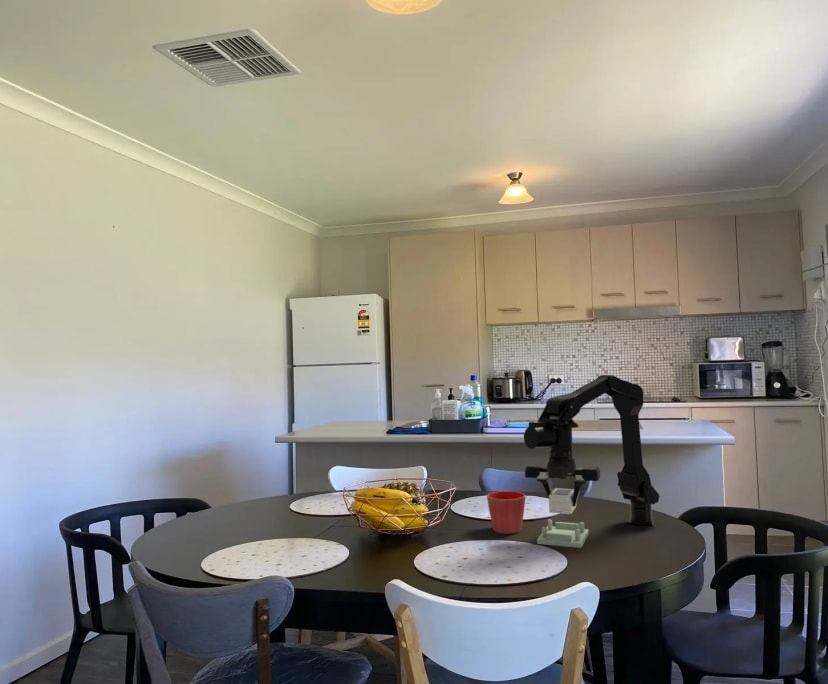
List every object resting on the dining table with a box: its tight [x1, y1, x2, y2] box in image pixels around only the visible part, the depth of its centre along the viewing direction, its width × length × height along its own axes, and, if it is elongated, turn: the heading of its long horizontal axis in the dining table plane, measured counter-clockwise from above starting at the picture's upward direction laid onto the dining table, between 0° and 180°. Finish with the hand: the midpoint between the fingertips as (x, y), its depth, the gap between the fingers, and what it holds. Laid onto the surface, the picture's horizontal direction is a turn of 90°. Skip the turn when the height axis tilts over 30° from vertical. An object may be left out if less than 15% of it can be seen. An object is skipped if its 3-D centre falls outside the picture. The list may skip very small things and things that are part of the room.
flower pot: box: [486, 490, 526, 535], centre depth 172 cm, size 11×11×10 cm
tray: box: [536, 519, 590, 549], centre depth 163 cm, size 14×11×4 cm
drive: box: [548, 487, 577, 515], centre depth 163 cm, size 9×6×5 cm, turn 157°
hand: (563, 505), depth 163 cm, fingers closed on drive, 5 cm apart
